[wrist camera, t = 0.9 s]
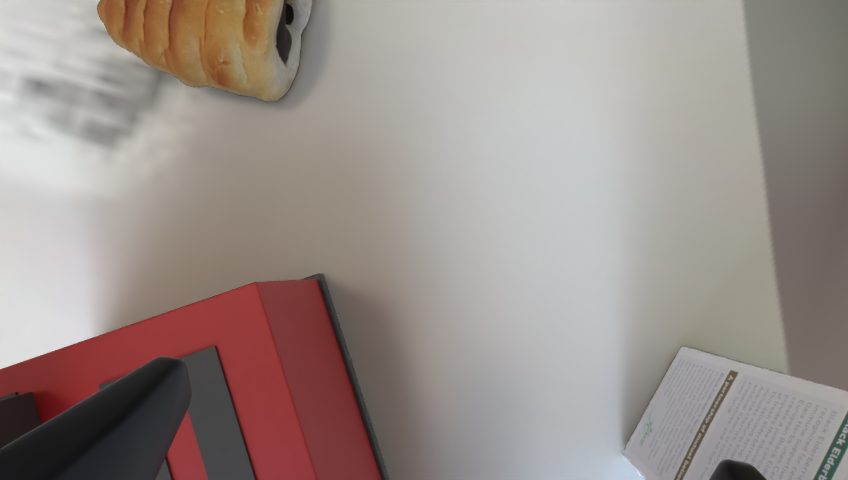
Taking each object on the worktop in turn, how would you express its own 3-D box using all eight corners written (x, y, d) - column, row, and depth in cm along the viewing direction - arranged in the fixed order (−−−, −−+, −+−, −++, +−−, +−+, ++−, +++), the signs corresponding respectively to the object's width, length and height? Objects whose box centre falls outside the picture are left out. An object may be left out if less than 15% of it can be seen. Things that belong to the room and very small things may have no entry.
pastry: (109, 79, 26) (49, 45, 22) (139, -52, 26) (86, -109, 22) (295, 112, 25) (267, 83, 21) (324, -24, 26) (301, -76, 22)
